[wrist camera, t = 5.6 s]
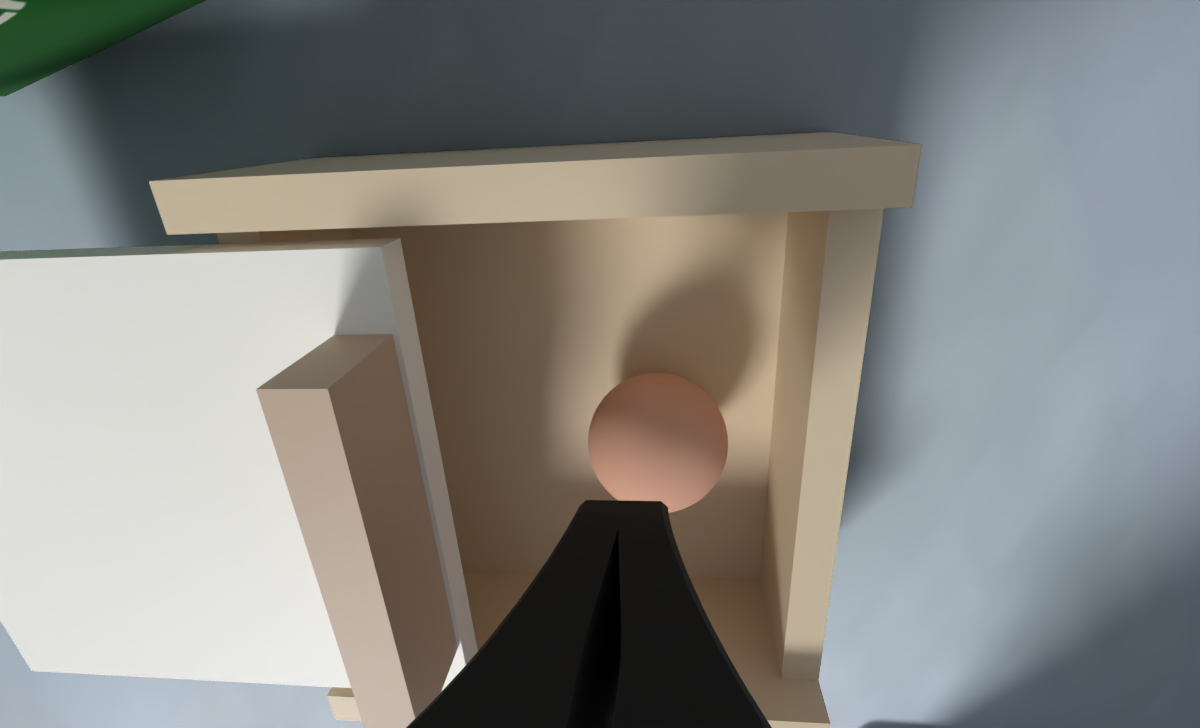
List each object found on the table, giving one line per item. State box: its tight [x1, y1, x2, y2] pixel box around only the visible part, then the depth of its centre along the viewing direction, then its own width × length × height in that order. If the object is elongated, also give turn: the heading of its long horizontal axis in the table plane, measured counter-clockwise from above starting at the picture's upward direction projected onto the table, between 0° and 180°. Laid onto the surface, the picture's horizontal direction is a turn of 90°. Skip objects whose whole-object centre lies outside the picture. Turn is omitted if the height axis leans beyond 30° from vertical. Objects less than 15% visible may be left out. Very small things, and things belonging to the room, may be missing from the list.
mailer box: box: [149, 132, 922, 728], centre depth 13 cm, size 12×11×5 cm
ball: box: [588, 373, 728, 513], centre depth 13 cm, size 3×3×3 cm
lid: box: [0, 238, 478, 728], centre depth 11 cm, size 10×11×3 cm
